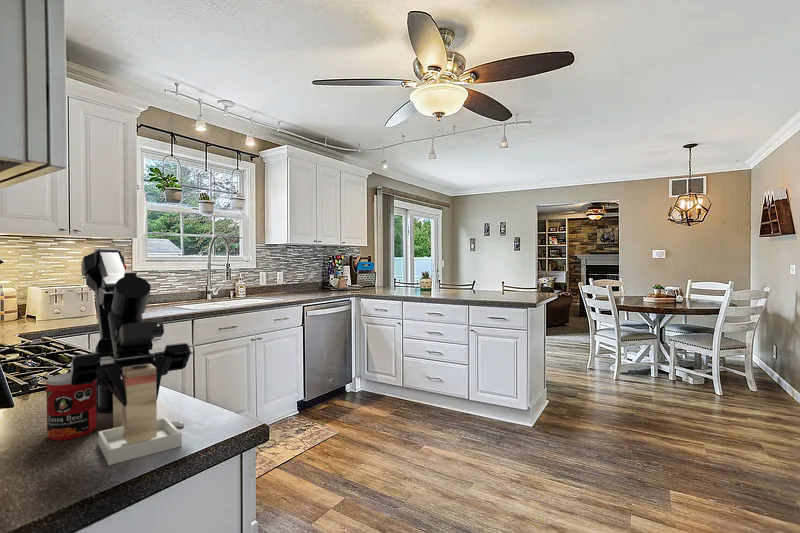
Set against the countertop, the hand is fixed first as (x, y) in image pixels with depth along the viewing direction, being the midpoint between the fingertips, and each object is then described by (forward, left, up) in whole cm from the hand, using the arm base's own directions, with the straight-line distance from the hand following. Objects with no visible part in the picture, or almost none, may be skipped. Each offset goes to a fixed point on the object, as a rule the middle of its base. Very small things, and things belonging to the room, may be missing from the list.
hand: (140, 402), depth 78 cm
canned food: (-18, +5, -8) cm, 20 cm away
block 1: (-11, +11, -8) cm, 17 cm away
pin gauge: (-3, +10, -8) cm, 13 cm away
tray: (-1, +1, -8) cm, 8 cm away
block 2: (-1, +1, -7) cm, 7 cm away
